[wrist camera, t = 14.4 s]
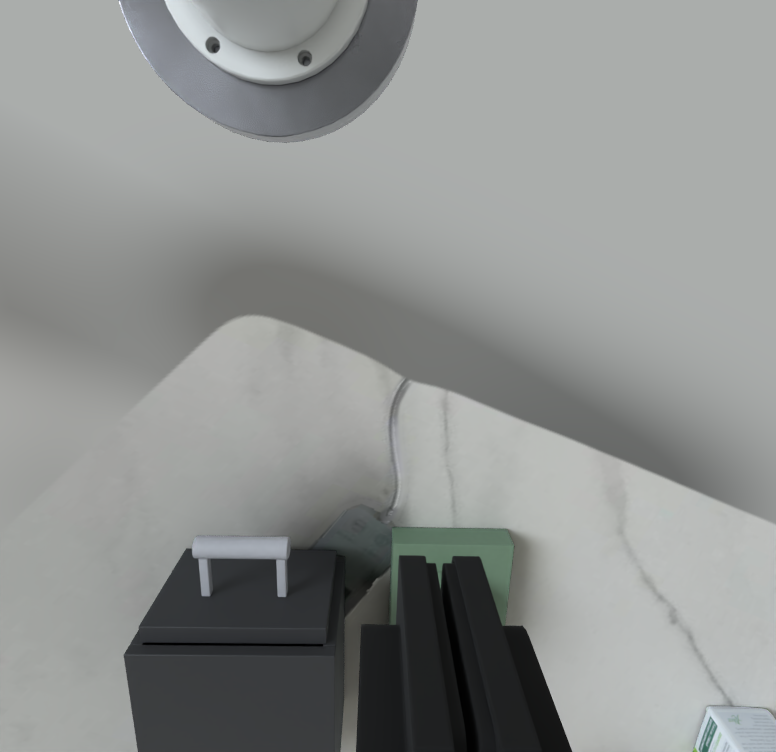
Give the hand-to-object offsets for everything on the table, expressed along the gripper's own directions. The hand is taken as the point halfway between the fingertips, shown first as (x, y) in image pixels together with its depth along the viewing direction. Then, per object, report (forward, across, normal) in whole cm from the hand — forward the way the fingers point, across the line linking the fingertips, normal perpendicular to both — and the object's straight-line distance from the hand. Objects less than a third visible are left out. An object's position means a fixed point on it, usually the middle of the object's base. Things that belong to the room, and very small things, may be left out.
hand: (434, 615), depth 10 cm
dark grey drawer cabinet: (+25, +10, +24) cm, 36 cm away
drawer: (+24, +10, +20) cm, 33 cm away
